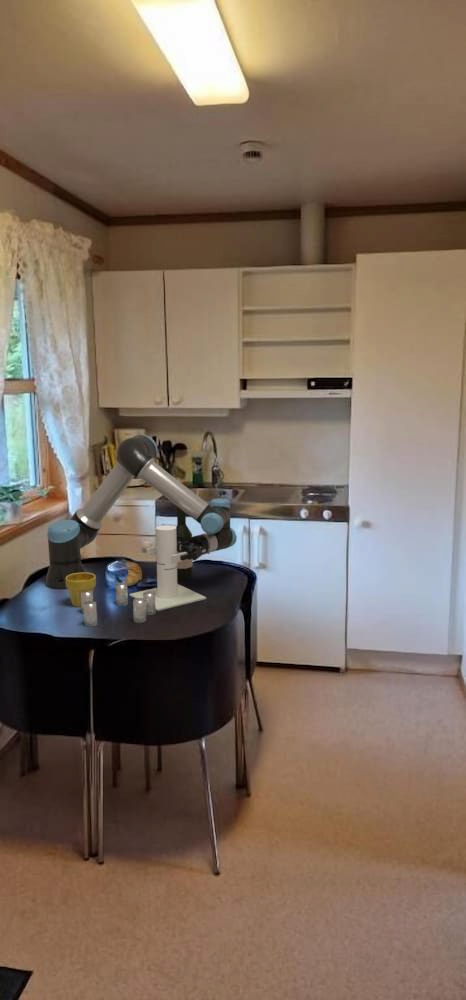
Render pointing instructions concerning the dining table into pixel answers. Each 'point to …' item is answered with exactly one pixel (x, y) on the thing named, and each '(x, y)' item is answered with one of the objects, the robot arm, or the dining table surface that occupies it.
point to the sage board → (181, 599)
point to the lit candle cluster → (139, 604)
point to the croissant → (133, 573)
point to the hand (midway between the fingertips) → (159, 556)
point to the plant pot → (79, 585)
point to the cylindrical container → (166, 561)
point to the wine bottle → (182, 535)
